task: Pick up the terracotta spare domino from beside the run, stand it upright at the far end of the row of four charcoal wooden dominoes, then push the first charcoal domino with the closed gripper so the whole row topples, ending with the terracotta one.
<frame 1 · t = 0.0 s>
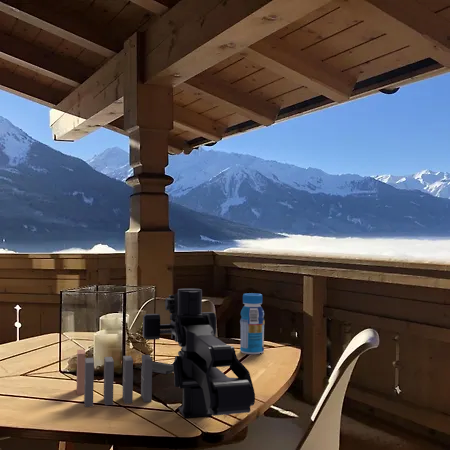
hand: (173, 320, 139), 17 cm above the table, tool horizontal, fingers open, 9 cm apart
beverage bottle: (252, 352, 177), on the table
spare domino: (80, 391, 129), on the table
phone: (154, 369, 154), on the table
domino 1: (146, 398, 124), on the table
domino 3: (108, 401, 122), on the table
domino 4: (88, 403, 120), on the table
domino 2: (127, 400, 123), on the table
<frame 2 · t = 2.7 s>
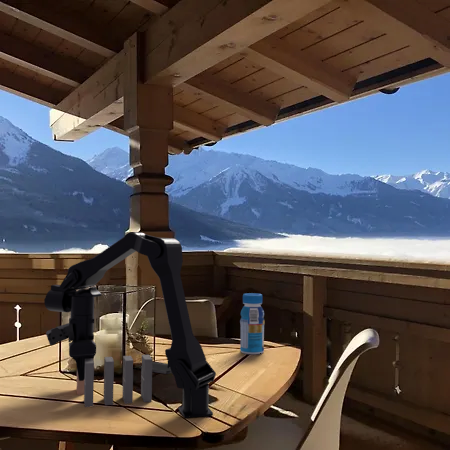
hand: (80, 376, 130), 4 cm above the table, tool pointing down, fingers open, 8 cm apart
domino 4: (88, 403, 120), on the table, touching gripper
everything else where it was.
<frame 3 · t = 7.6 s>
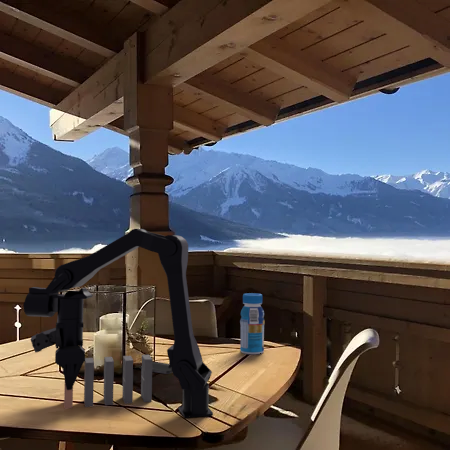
hand: (69, 385, 119), 4 cm above the table, tool pointing down, fingers open, 7 cm apart
spare domino: (68, 404, 119), on the table
domino 4: (88, 403, 120), on the table
everything else where it was.
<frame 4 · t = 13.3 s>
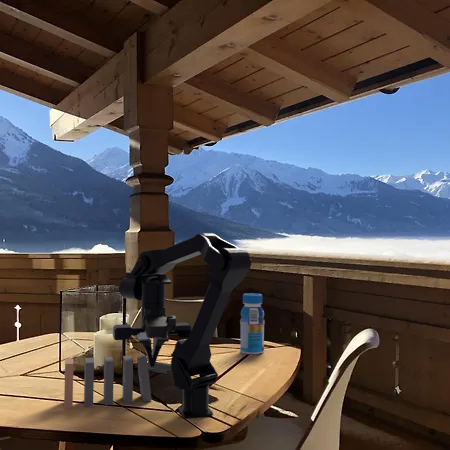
hand: (152, 366, 125), 8 cm above the table, tool pointing down, fingers closed
domino 1: (146, 398, 124), on the table, tilted 7°
everything else where it was.
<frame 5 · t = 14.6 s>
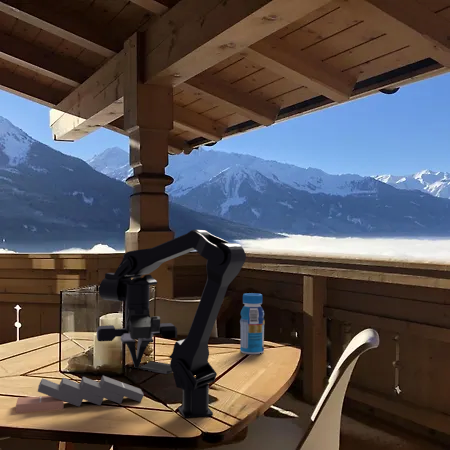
hand: (136, 367, 124), 7 cm above the table, tool pointing down, fingers closed
spare domino: (63, 401, 119), point 1 cm above the table, tilted 90°, touching domino 4
domino 1: (140, 395, 124), point 1 cm above the table, tilted 67°
domino 3: (101, 398, 121), point 1 cm above the table, tilted 66°, touching domino 4
domino 4: (80, 399, 120), point 1 cm above the table, tilted 66°, touching domino 3, spare domino
domino 2: (121, 397, 123), point 1 cm above the table, tilted 66°
everything else where it was.
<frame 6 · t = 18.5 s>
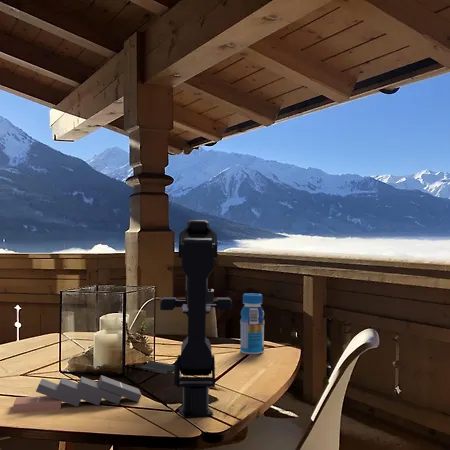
hand: (195, 336, 136), 13 cm above the table, tool pointing down, fingers closed
domino 1: (138, 395, 124), point 1 cm above the table, tilted 66°, touching domino 2
domino 3: (100, 398, 121), point 1 cm above the table, tilted 66°, touching domino 2, domino 4
domino 4: (79, 399, 120), point 1 cm above the table, tilted 67°, touching domino 3, spare domino
domino 2: (119, 397, 122), point 1 cm above the table, tilted 66°, touching domino 1, domino 3
everything else where it was.
at the end: spare domino inside the target area (1.4 cm from its centre), point 0.8 cm above the table; spare domino tilted 90°; domino 4 tilted 67° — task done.
